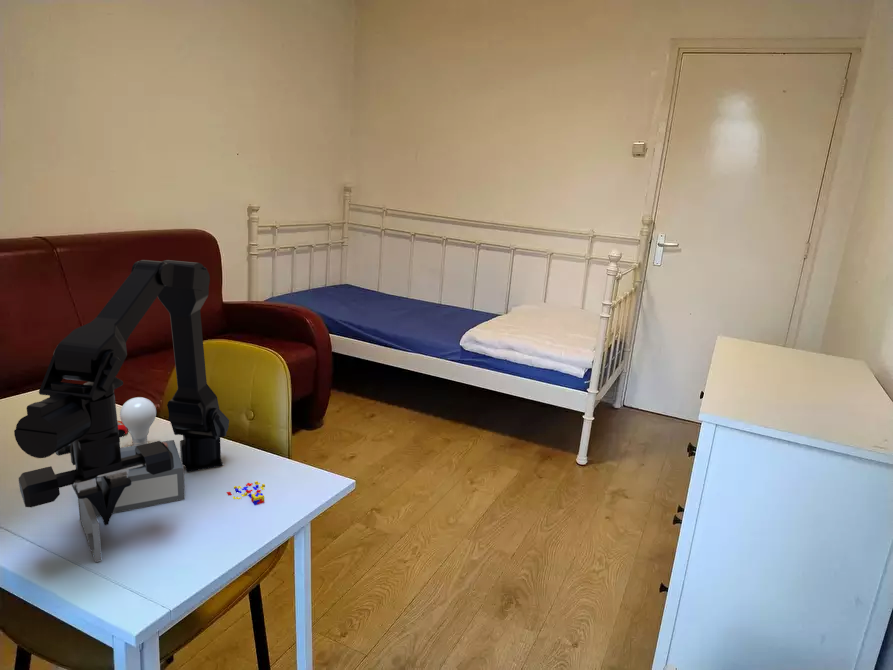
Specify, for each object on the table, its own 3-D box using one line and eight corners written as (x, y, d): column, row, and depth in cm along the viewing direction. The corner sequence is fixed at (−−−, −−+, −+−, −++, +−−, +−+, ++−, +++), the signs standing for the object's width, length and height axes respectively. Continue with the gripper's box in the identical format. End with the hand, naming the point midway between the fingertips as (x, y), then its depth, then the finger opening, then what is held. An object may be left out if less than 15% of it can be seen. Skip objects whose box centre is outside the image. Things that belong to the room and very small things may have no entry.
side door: (102, 560, 86) (99, 522, 85) (91, 563, 86) (88, 525, 84) (86, 516, 97) (83, 482, 95) (76, 519, 96) (73, 484, 94)
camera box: (175, 469, 114) (173, 436, 112) (184, 499, 104) (183, 463, 102) (83, 484, 106) (80, 449, 105) (84, 518, 96) (80, 479, 95)
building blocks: (259, 482, 112) (259, 473, 112) (276, 501, 106) (276, 492, 106) (223, 491, 108) (223, 482, 108) (239, 511, 102) (239, 502, 102)
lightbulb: (134, 460, 116) (131, 406, 113) (115, 451, 119) (111, 398, 117) (164, 449, 121) (162, 397, 119) (146, 440, 125) (143, 390, 122)
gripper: (149, 395, 97) (157, 482, 101) (6, 421, 85) (22, 520, 89) (171, 418, 89) (178, 512, 93) (16, 451, 77) (33, 557, 81)
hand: (106, 523), depth 89 cm, fingers closed
